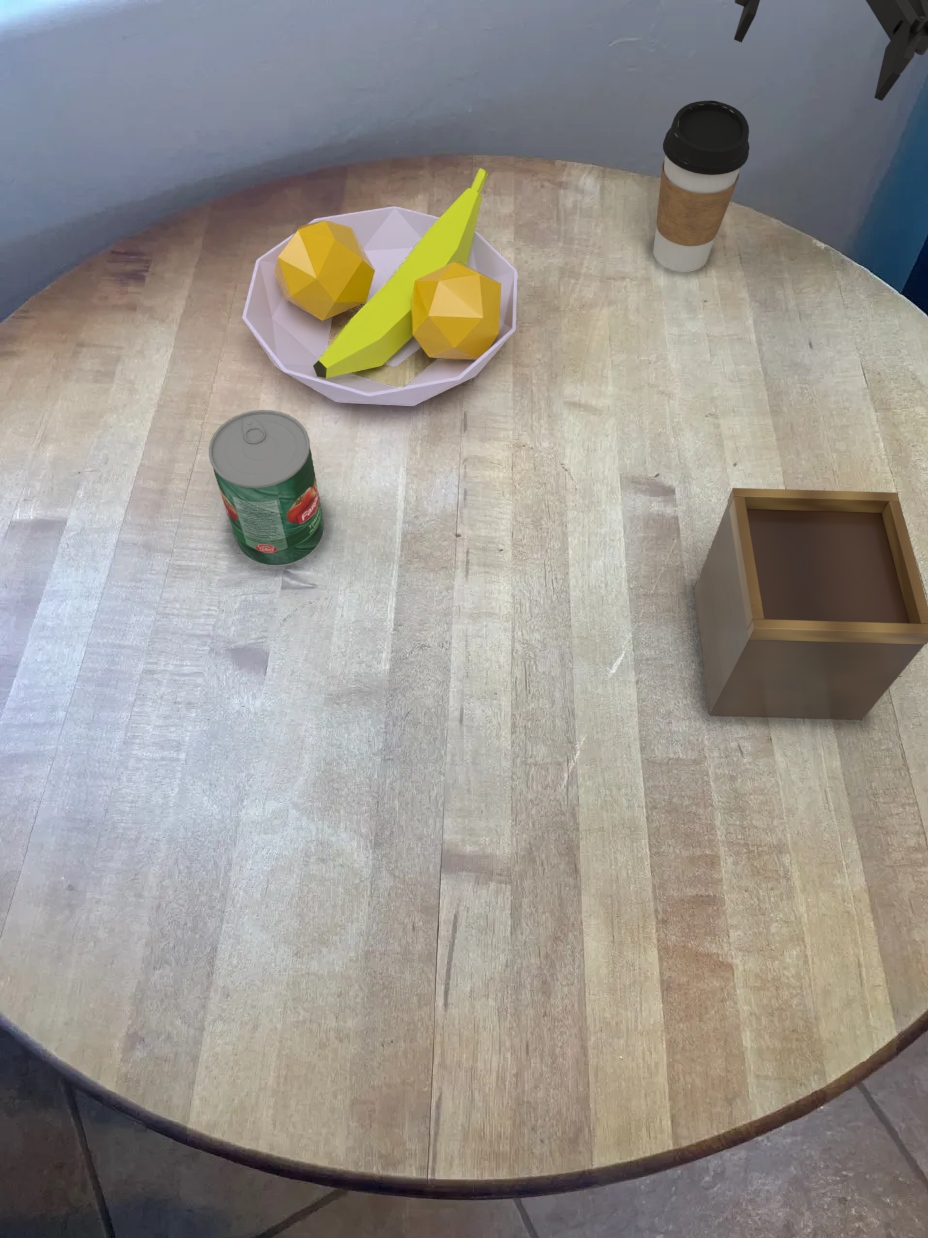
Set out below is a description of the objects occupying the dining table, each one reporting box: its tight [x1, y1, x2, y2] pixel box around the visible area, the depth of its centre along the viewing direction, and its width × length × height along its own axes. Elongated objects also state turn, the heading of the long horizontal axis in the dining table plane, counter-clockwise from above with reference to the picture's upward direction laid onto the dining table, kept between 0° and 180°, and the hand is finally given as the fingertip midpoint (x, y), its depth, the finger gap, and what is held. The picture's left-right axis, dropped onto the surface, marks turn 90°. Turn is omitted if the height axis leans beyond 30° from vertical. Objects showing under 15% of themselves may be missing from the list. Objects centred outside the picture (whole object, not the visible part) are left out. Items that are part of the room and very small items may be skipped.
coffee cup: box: [652, 99, 750, 273], centre depth 99 cm, size 8×8×15 cm
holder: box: [693, 487, 928, 721], centre depth 73 cm, size 12×12×14 cm
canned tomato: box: [208, 409, 326, 568], centre depth 80 cm, size 8×8×11 cm
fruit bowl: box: [241, 167, 518, 407], centre depth 93 cm, size 28×27×11 cm
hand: (816, 57), depth 84 cm, fingers open, 13 cm apart
